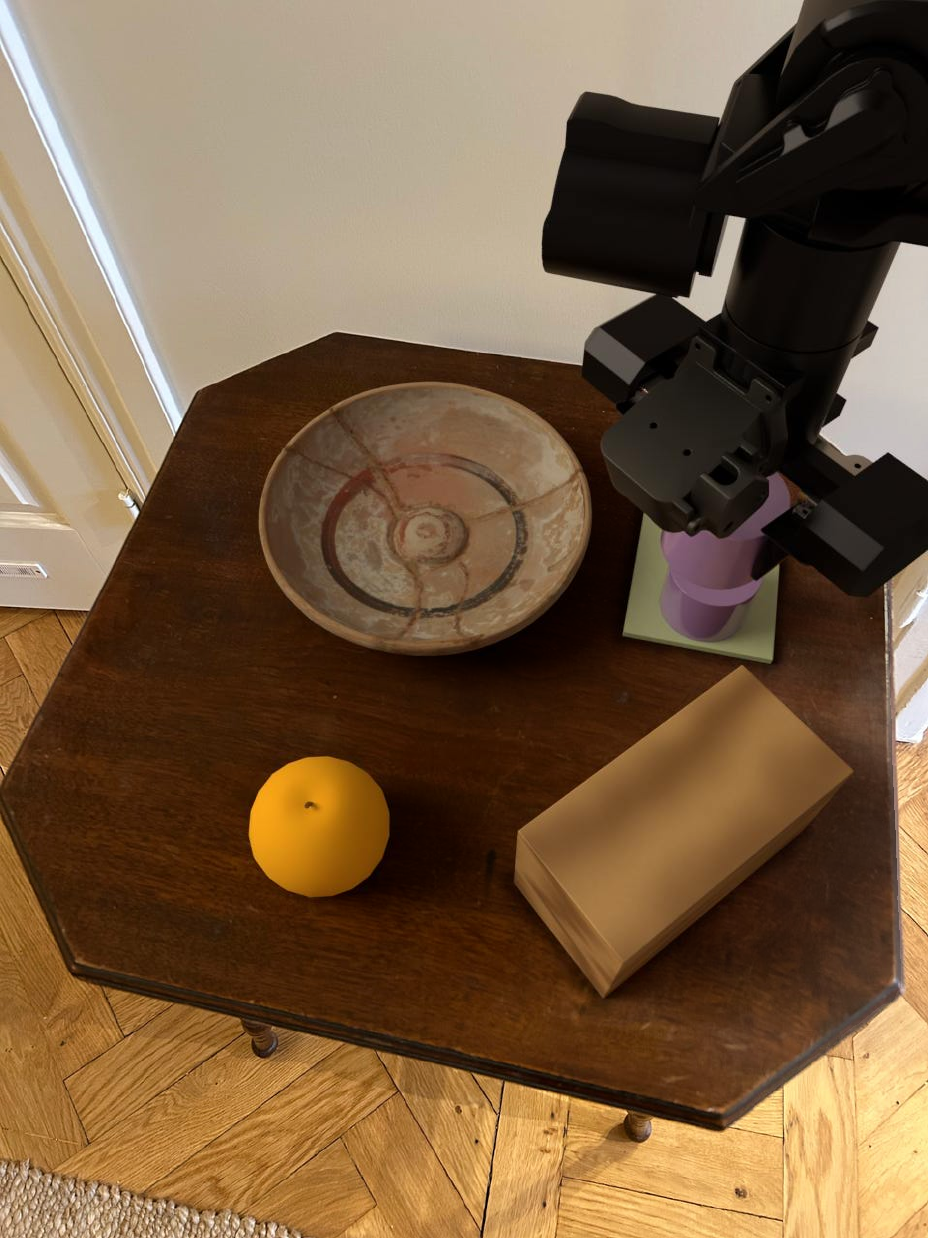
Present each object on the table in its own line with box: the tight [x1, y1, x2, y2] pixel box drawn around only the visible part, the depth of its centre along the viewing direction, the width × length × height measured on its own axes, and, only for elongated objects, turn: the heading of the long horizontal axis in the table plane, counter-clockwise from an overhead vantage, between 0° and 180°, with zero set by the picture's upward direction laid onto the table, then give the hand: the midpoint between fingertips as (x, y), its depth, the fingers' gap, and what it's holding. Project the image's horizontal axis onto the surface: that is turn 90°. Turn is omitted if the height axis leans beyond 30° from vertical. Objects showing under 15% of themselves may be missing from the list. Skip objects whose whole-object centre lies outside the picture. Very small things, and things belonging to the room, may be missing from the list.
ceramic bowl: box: [258, 381, 593, 657], centre depth 65 cm, size 23×24×5 cm
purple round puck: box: [659, 564, 763, 642], centre depth 61 cm, size 6×6×4 cm
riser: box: [513, 664, 855, 999], centre depth 50 cm, size 8×16×9 cm, turn 126°
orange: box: [248, 755, 390, 898], centre depth 52 cm, size 8×8×8 cm
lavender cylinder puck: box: [660, 472, 792, 590], centre depth 49 cm, size 6×6×4 cm
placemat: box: [622, 512, 781, 665], centre depth 65 cm, size 14×10×1 cm
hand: (716, 538), depth 50 cm, fingers closed on lavender cylinder puck, 6 cm apart
